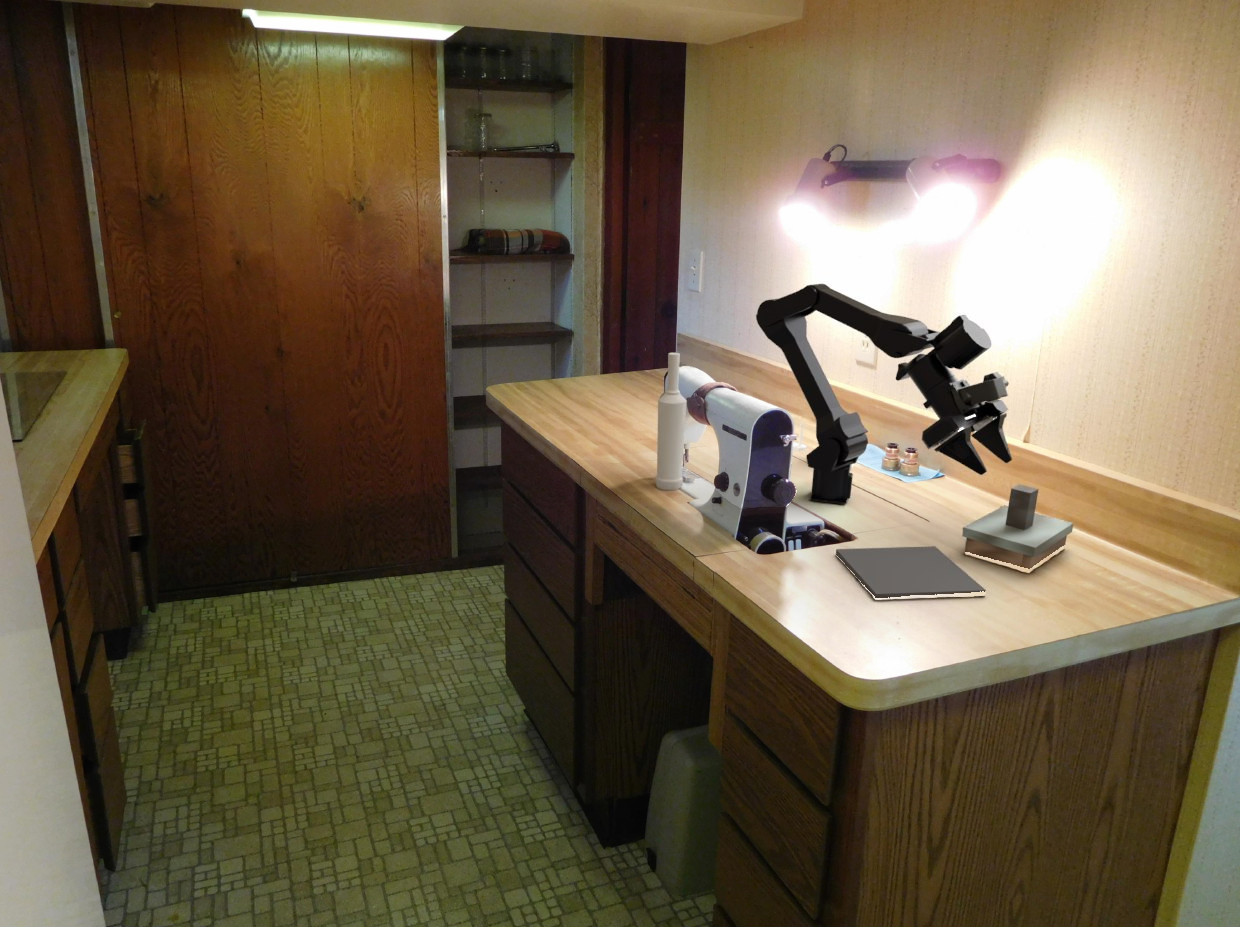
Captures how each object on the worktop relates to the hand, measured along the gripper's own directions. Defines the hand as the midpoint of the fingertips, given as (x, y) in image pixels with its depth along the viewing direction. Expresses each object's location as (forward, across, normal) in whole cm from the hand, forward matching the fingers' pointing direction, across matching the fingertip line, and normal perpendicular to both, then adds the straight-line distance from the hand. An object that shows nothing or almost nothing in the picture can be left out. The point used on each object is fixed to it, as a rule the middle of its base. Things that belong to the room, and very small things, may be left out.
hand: (997, 467), depth 145 cm
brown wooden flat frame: (+12, 0, +6) cm, 14 cm away
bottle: (-28, -17, +47) cm, 57 cm away
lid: (+10, 0, +4) cm, 11 cm away
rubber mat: (+7, -21, +11) cm, 25 cm away
